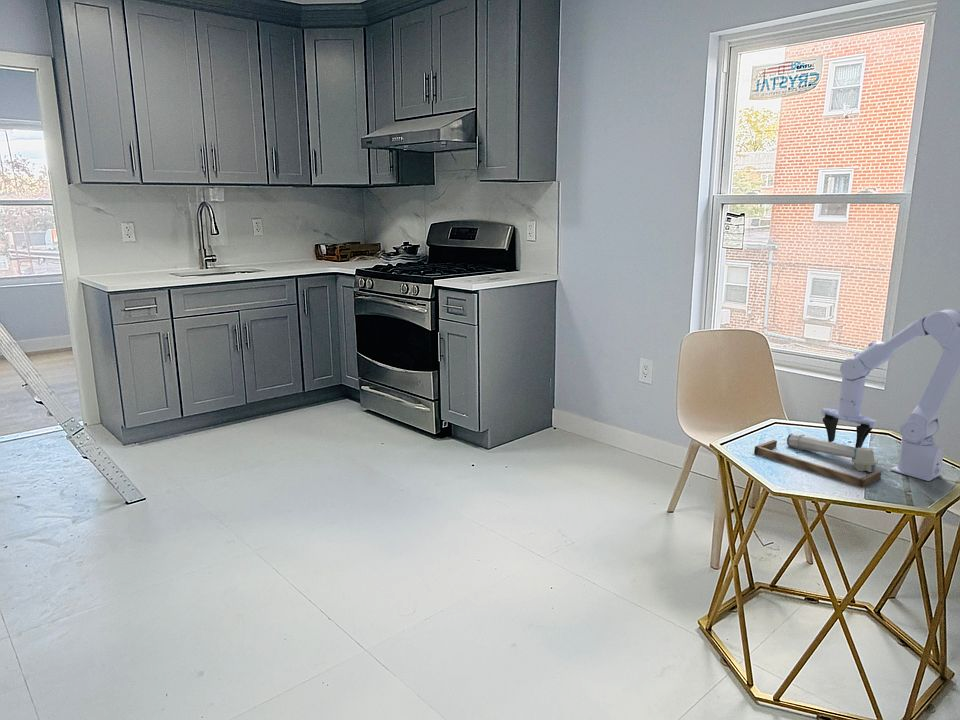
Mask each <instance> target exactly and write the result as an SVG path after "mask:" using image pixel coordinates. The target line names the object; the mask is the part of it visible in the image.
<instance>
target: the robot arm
mask: <svg viewBox="0 0 960 720" xmlns="http://www.w3.org/2000/svg"><path fill="white" fill-rule="evenodd" d="M928 335H929V336H931V337H932V338H933V339H935V340H936V341H937V342H938V343H939V345H940V347H941V349H942V350H943V351H942V354H941V356H940V358H939V360H938V362H937V364H936V366H935V368H934V371H933V373H932V375H931V377H930V378H929V381H928V383H927V385H926V387H925V389H924V392H923V393H922V396H921V398H920V400H919V402H918V404H917V405H916V407H915V408H914V409H913V411H911V413H910V415H909V417H908V418H907V419H905V420H904V421H903V422H901V424H900V427H899V431H900V432H899V433H900V435H901V440H900V447H899V454H898V460H897V465H895V466H893V467H891V468H890V471H892V472H895V473H898V474H903V475H905V476H908V477H912V478H916V479H920V480H924V481H926V482H930V481H932V480H934V479H936V478H937V477H940V476H941V475H942V473H941V471H942V464H943V459H944V455H945V454H944V452H945V451H944V448H943V447H942V446H940V445H937V444H936V443H935V440H934V435H936V434H937V433H938V431H939V430H940V429H939V428H940V418H941V415H942V412H941V410H942V408H943V406H944V404H945V402H946V399H947V398H948V395H949V393H950V392H951V389H952V387H953V385H954V384H955V381H956V379H957V377H958V376H959V373H960V311H959V310H958V309H955V308H945V309H942V310H938V311H932V312H930V313H928V314H927V315H925V316H923V317H920V318H919V319H917V320H914V321H913V322H912V323H910V324H908V325H906V327H905V328H903V329H901V330H900V331H899V332H897V333H896V334H895V335H893V336H892V337H890V338H888V339H887V340H886V341H880V340H879V341H876V342H875V341H872V342H869V343H868V344H867V346H868V347H867V348H865V349H863V350H862V351H860V352H855V353H854V354H853V356H854V357H853V358H848V359H847V358H846V359H845V360H843V362H842V363H841V365H840V367H839V371H840V374H841V375H842V376H841V377H842V380H841V384H840V386H841V387H840V393H839V399H838V406H837V407H838V408H837V409H835V408H834V409H833V408H827V407H824V408H822V409H821V412H820V413H821V414H820V416H823V418H822V422H823V424H824V426H825V427H824V428H825V429H826V433H827V441H829V442H833V443H834V442H835V438H836V430H837V427H838V422H839V420H842V421H846V422H849V423H854V424H858V425H857V426H856V441H855V446H854V447H855V448H863V444H864V442H865V440H866V438H867V437H868V435H869V434H870V432H872V430H873V429H875V428H876V427H877V423H878V420H877V419H873V418H870V417H867V416H864V415H862V414H861V412H862V405H863V397H864V393H865V384H866V383H865V382H866V377H867V376H869V374H870V373H871V371H873V370H875V369H877V368H878V367H880V366H882V365H883V364H884V363H886V362H888V361H889V360H891V359H892V358H893V354H894V352H895V351H896V350H898V349H901V347H903V346H905V345H906V344H908V343H911V342H912V341H913V340H915V339H917V338H918V337H922V336H923V337H924V336H928Z"/></svg>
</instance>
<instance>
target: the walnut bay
mask: <svg viewBox="0 0 960 720" xmlns="http://www.w3.org/2000/svg"><path fill="white" fill-rule="evenodd" d="M777 445H778V440H777V439H772V440H769V441H767V442H764V443H760V444H758V445H756V446H754V450H753V451H754V452H753V454H756V455H759V456H761V457H765V458H769V459H772V460H775V461H778V462H780V463H781V462H782V463H785V464H788V465H790V466H793V467H796V468H800V469H803V470H807V471H808V472H809V471H810V472H813V473H815V474H818V475H822V476H825V477H828V478H831V479H833V480H834V479H835V480H838V481H841V482H844V483H847V484H850V485H853V486H857V487H859V488H865V487H866V486H868V485H871V484H872V483H874V482H876V481H879V480H881V477H882V473H883V472H882V471H881V470H877V469H876V471H875V472H870V473H868V474H867V475H865V476H862V477H860V476H856V475H852V474H850V473H846V472H843V471H840V470H837V469H834V468H830V467H826V466H823V465H820V464H818V463H815V462H811V461H808V460H804V459H801V458H797V457H794V456H791V455H788V454H785V453H781V452H778V451H775V450H773V449H775V448H777Z"/></svg>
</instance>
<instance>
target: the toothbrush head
mask: <svg viewBox="0 0 960 720" xmlns="http://www.w3.org/2000/svg"><path fill="white" fill-rule="evenodd" d="M786 445H787V446H788V447H790V448H794V449H798V450H800V451H801V450H805V451H811V452H815V453H822V454H827V455H831V456H832V455H833V456H837V457H838V456H839V457H843V458H847V459H848V458H849V459H851V462H852V464H853V465H852V467H853V469H854V470H857V471H859V472H864V471H867V472H868V473H873V472H875V471H877V465H878V464H879V462H878V459H875V454H874V450H873V449H872V448H869V447H861V448H855V446H854V447H853V446H850V445H847V444H841V443H837V442H834V441H833V442H829V441H828V440H823V439H819V438H816V437H810V436H806V435H805V434H795V433H790V434H788V436H787V438H786Z"/></svg>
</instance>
